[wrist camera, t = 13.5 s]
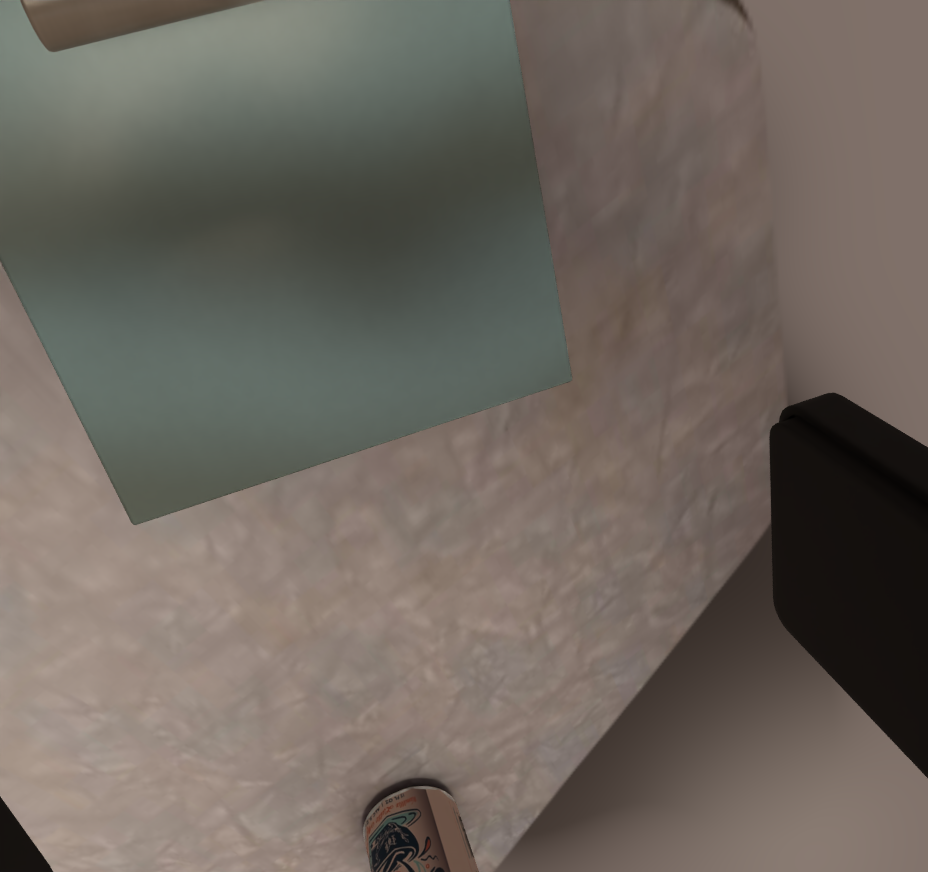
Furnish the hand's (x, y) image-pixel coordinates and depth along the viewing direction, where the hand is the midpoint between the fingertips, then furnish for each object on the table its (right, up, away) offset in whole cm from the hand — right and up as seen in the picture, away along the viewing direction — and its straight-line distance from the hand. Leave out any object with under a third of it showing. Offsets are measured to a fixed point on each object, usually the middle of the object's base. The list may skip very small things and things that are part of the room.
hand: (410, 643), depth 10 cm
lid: (-4, +8, +11) cm, 14 cm away
